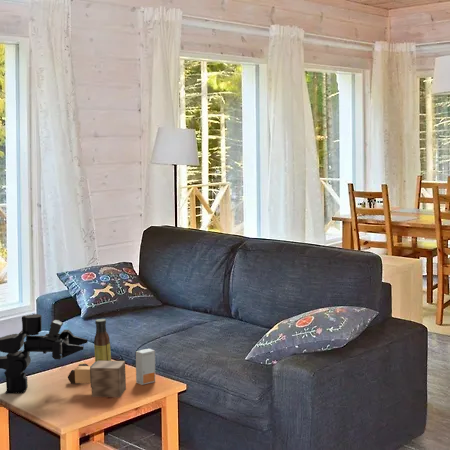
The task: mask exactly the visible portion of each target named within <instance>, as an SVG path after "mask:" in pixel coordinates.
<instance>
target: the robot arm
mask: <svg viewBox="0 0 450 450" xmlns="http://www.w3.org/2000/svg"><path fill="white" fill-rule="evenodd" d="M42 319H43V318H42V314H39V313H38V314H37V313H33V314H28V315H22V317H21V324H22V327H21V328H22V329H21V331H20V332H19V333H12V334H8V335H3V336H1V337H0V353H4V354H5V353H7V354H6V355H0V370H2V369H3V370H5V371H4V372H3V373H4V376H5V381H6V383H5V384H6V391H5V393H6V394H24V393H25V392H26V390H27V389H28V388H29V387H28V376H26V375H27V374H26V372H25V371H26V369H27V368H28V367H29V366H30V364H31V361H32V358H31V356H30V355H31V354H30V352H31V353H42V354H47V353H51V357H52V358H53V359H54V360H58V361H59V360H62V359H64V358H66V357H68V356H71V355H73V354H75V353H78V352H81V351H83V350H84V346H83V345H84V344H87V343H88V341H89V340H88V339H87V338H84V337H79V336H76V335H74V334H73V333H72V331H71V330H70V329H63V330H62V331H61V328H62V327H63V324H64V322H62V321H60V319H54V320H52V321H51V323H50V325H49V327H50V328H49V331H48V333H46V334H45V335H39V334H40V332H42V331H43V330H42V328H43V326H42V325H43V324H42V321H43V320H42ZM60 331H61V333H60ZM22 348H23V350H21V349H22Z"/></svg>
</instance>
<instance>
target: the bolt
mask: <svg viewBox="0 0 450 450" xmlns="http://www.w3.org/2000/svg"><path fill="white" fill-rule="evenodd" d="M77 366H89V364H87V363H80V364H78V365H77ZM67 378H68V379H67V380H68V381H69V382H70V384H72V385H80V384H81V383H75V369H72V370H70V372H69V374H68V375H67Z"/></svg>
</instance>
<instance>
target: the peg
mask: <svg viewBox="0 0 450 450" xmlns="http://www.w3.org/2000/svg"><path fill="white" fill-rule="evenodd" d="M91 366H92V365H88V366H78V365H77V366H76V367H75V368H74V370H75V383H80V384H91V378H90V367H91Z"/></svg>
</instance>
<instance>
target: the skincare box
mask: <svg viewBox="0 0 450 450" xmlns="http://www.w3.org/2000/svg"><path fill="white" fill-rule="evenodd" d="M135 382H136V383H137V384H139V385H141V386H143V385H147V384H152V383H156V350H154V349H152V348H145V349H140V350H137V351H135Z"/></svg>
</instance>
